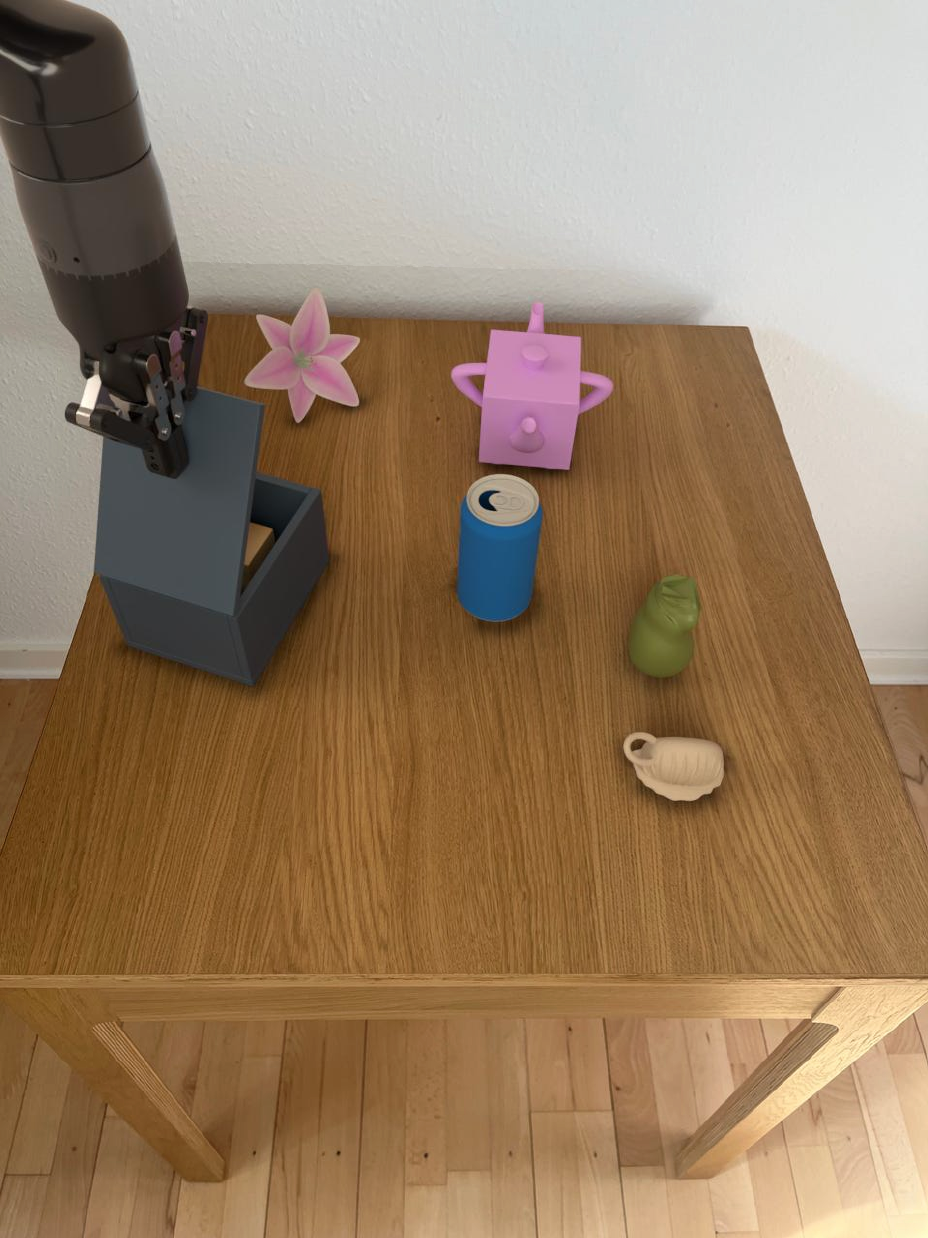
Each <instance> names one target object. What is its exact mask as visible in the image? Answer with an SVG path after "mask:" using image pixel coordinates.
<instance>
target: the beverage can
mask: <svg viewBox="0 0 928 1238" xmlns="http://www.w3.org/2000/svg"><path fill="white" fill-rule="evenodd" d="M459 515H460V516H459V517H460V518H459V534H458V535H459V536H458V557H457V558H458V559H457V560H458V561H457V582H456V583H457V585H456V594H457V599H458V601H459V604H460V605H461V607H462V608H463V609H464V610H465V611H466V612H467V613H468V614H470V615H471V616H472V617H475V618H477V619H479V620H483V621H488V622H505V621H509V620H513V619H514V618H517V617H518V616H521V614H523V613H524V612H525V611H526V609H527V608H528V607H529V606H530V604H531V600H532V595H533V589H534V583H535V582H534V581H535V574H536V568H537V567H536V566H537V559H538V552H539V546H540V539H541V532H542V531H541V530H542V524H543V515H544V511H543V506H542V503H541V501H540V498H539V494H538V492H537V490H536V489H535V487H534V486H533V485H532V484H531V483H530V482H528V481H526V480H525V479H523V478H521V477H518V476H515V475H512V474H504V473H496V474H490V475H486V476H483V477H481V478H479V479H477V480H476V481H474V482H473V483H472V484H471V485H470V487H469V488H468V490H467V493H466V494H465V496H464V497H463V499H462V502H461V505H460V514H459Z"/></svg>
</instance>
